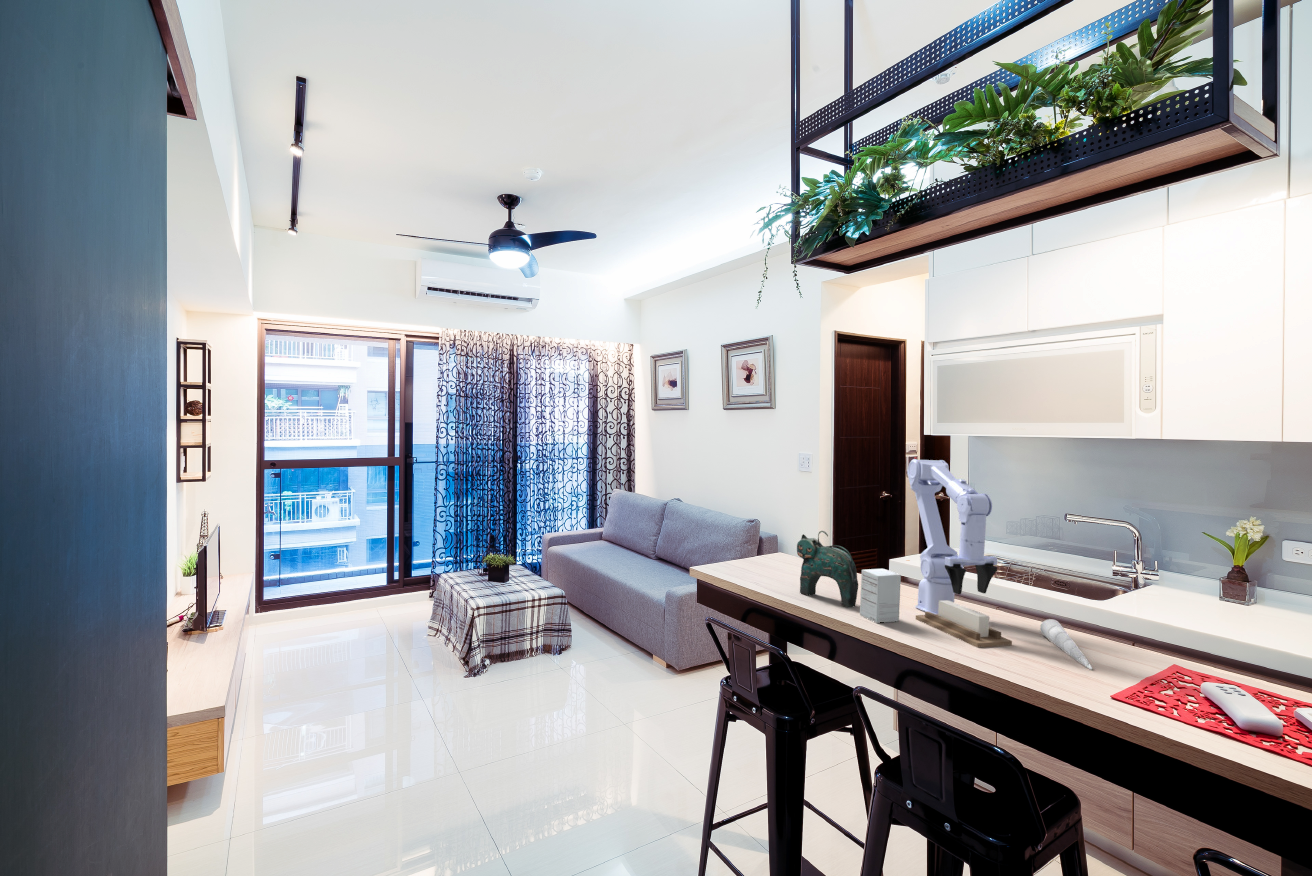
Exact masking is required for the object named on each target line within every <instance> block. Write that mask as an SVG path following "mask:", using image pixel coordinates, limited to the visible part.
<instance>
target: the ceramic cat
mask: <svg viewBox="0 0 1312 876" xmlns="http://www.w3.org/2000/svg"><path fill="white" fill-rule="evenodd" d="M821 533H824V534H825V536H827V537H829V535H828V533H827V532H826V531H825V530H821V531H819V532H818V534H817V538H815V537H811V538H810V537H807V536H806V535H805V534H802V535H801V538H800V540H799V541H798V542H797V544H796V553H797V556H799V558H801V559H802V562H801V563H802V564H801V570H800V578H799V583H800V584H799V586H800V587H799V594H800V593H801V595H804V596H813V594H814V595H816V592H817V591H816V587H817V583H818V581H819V580H820V578H821V577H827V578H830V579H832V580H834V581H835V583H836V584H837V586H838V588H839V589H838V590H839V594H840V599H841V606H842V605H843V606H842V607H846V608H853V606H854V607H855V606H856V604H857V599H858V598H857V597H858V590H859V580H858V572H857V567H856V564H855V562H854V560H853V557H852V554H851V553H850V552H849V550H848V549H846V548H845V547H843V546H841V545H837V544H832V545H825V546H824V545H823V544H822V543H821V541H820V534H821ZM837 547H838V548H837Z"/></svg>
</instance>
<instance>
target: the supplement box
mask: <svg viewBox="0 0 1312 876" xmlns="http://www.w3.org/2000/svg"><path fill="white" fill-rule="evenodd" d="M860 577H861V578H860V580H861V581H860V602H859V603H860V604H859V616H861V617H862V616H863V617H862V618H864V619H867V618H868V619H867V620H869V619H870V620H869V621H871V620H872V621H871V622H873V621H874V622H873V623H875V622H876V624H880V622H884V623H892V622H895V621H896V622H899V621H900V607H901V605H900V604H901V599H900V598H901V583H902V582H901V579H902V578H901V577H902V575H901V574H899V573H898V572H895V571H892V570H889V569H885V568H871V569H870V568H869V569H861V576H860Z"/></svg>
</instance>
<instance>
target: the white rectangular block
mask: <svg viewBox="0 0 1312 876" xmlns="http://www.w3.org/2000/svg"><path fill="white" fill-rule="evenodd" d="M938 616H941V617H943V618H945V619H948V620H950V621H952V622H955V623H957V624H959V625H962V626H964V627H966V628H968V629H971V630H973V631H975V632H978V633H980V637H988V633H989V627H990V615H987V614H985V613H982V612H980V611H977V610H975V609H971V608H970V607H966V606H964V605H961V604H959V603H957V602H955V601H954V602H951V601H949V600H945V601H939V608H938Z"/></svg>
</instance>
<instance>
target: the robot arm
mask: <svg viewBox="0 0 1312 876" xmlns="http://www.w3.org/2000/svg"><path fill="white" fill-rule="evenodd" d="M949 468H950V467H949V464H948V463H947V462H946V461H945V460H943V459H939V460H937V459H936V460H933V459H930V460H929V459H917V458H913V459H912V460H911V461H909V464H908V467H907V472H906V473H907V477H908V478H907V479H908V482H909V486H910V490H911V491H913V492H914V495H915V498H916V503H917V508H918V512H919V516H920V521H921V526H922V530H923V534H924V539H925V542H926V546H927V548H926V549H924V550H923V551H922V552H921V554H920V556H919V558H920V559H919V560H920V573H921V575H922V576H923V578H922V579H921V580H920V582H919V583H918V592H917V605H915V606H914V608H915V609H918V610H921V611H922V612H924V613H925V612H931V613H934V614H938V608H939V601H945V600H949V601H951V602H954V603H955V595H962V591H963V583H964V578H965V575H966V572H967V569H966V568H964V566H975V570H976V577H977V584H976V586H977V587H976V589H977V592H979V593H982V594H987V591H988V587H989V585H990V583H991V581H992V579H993V577H994V575H995V574H996V573H997V572H998V567H997V566H998V557H995V556H992V555H991V556H990V555H988V556H987V555H985V545H986V544H985V543H986V526H987V517H989V516H990V515H991V513H992V511H993V503H992V499H991V497H990V495H989V494H987V493H981V492H980V493H979V492H977V491H976V490H975V488H973V487H972V486H970V485H969V483H967V480H966V479H963V478H962V479H961V478H956V477H955V476H954V475H953V473H952V472H951V471H950V469H949ZM943 487H944V488H945V492H946V493H945V494H946V495H947V496H948V497H949V498H950V499H951V500H952V501H953V502H954V504H956V509H957V511H958V520H959V522H960V535H959V539H960V540H959V552H958V551H956V550H955V549H954V548H952V547H951V546H949V545H948V544H947V539H946V535H945V532H944V528H943V524H942V520H941V516H940V512H939V507H938V504H937V500H936V495H935V494H936V493H939V492H940V491H941V490H942V488H943ZM958 553H959V554H958Z"/></svg>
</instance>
